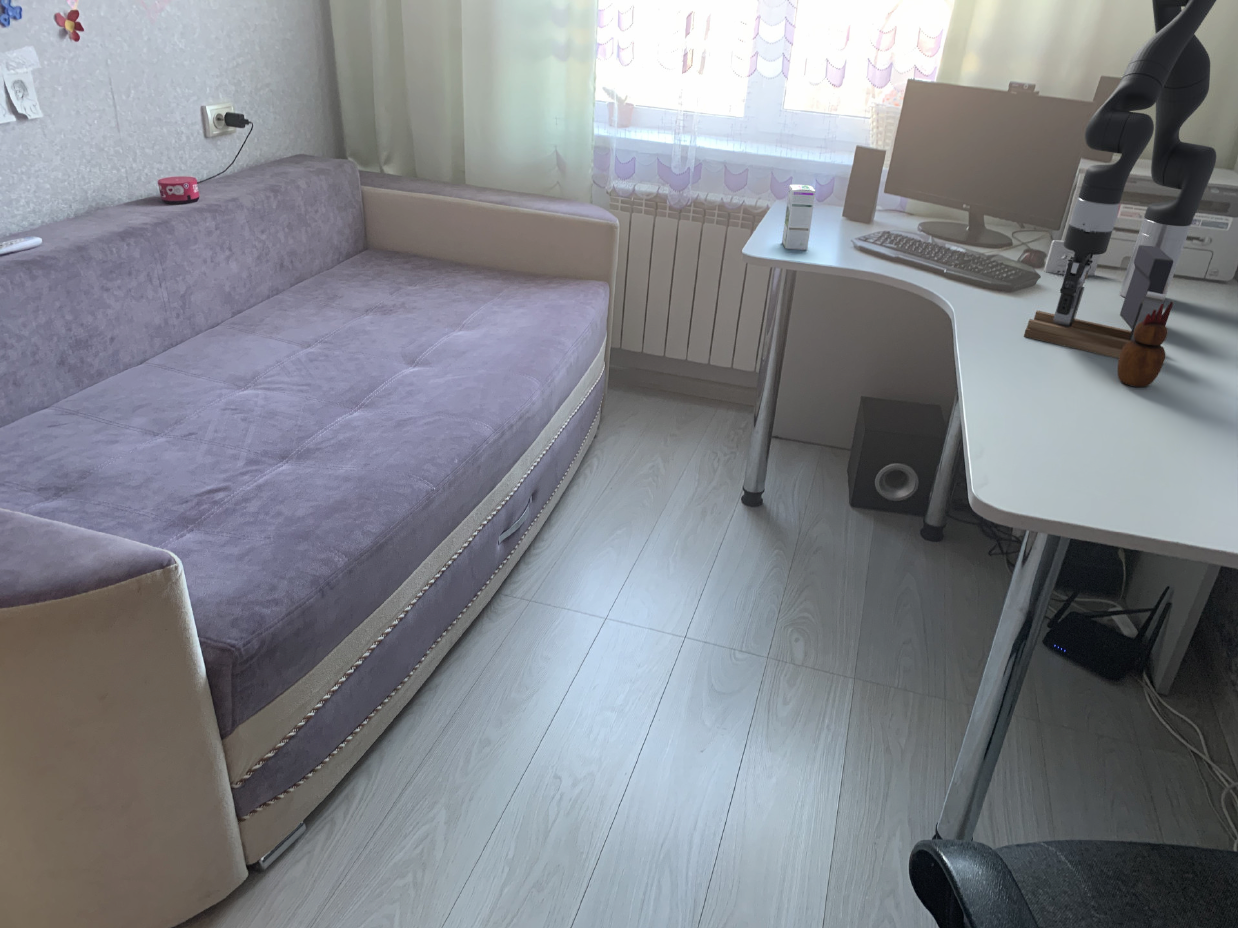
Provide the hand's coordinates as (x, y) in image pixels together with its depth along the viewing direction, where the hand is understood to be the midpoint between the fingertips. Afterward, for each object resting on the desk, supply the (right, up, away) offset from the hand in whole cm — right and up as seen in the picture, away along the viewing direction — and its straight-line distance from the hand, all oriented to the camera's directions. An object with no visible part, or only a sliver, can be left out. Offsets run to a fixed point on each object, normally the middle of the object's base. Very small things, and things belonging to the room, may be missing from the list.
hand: (1066, 308), depth 181 cm
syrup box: (-43, +24, +51) cm, 71 cm away
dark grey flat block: (+20, -1, +13) cm, 24 cm away
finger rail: (+5, -7, 0) cm, 8 cm away
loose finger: (0, -4, +2) cm, 4 cm away
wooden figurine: (+3, -16, -17) cm, 24 cm away
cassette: (+22, +16, +44) cm, 52 cm away
